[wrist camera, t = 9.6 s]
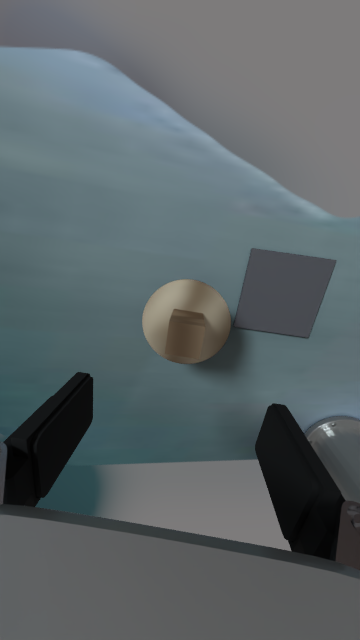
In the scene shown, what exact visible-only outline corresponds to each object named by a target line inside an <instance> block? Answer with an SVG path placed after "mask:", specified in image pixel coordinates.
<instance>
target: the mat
mask: <svg viewBox="0 0 360 640" xmlns="http://www.w3.org/2000/svg"><path fill="white" fill-rule="evenodd" d="M335 263H336V260H331V259H324V258H317V257H310V256H303V255H296V254H289V253H282V252H275V251H268V250H261V249H254V248H252V249H251V253H250V257H249V262H248V266H247V270H246V275H245V279H244V283H243V287H242V292H241V296H240V300H239V305H238V309H237V313H236V317H235V322H234V327H239V328H246V329H253V330H259V331H266V332H273V333H280V334H286V335H293V336H300V337H307V338H308V337H309V334H310V332H311V329H312V326H313V323H314V321H315V318H316V315H317V312H318V310H319V307H320V304H321V301H322V299H323V296H324V293H325V290H326V288H327V285H328V282H329V280H330V277H331V274H332V271H333V269H334V266H335Z"/></svg>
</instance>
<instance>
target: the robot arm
mask: <svg viewBox="0 0 360 640" xmlns="http://www.w3.org/2000/svg"><path fill="white" fill-rule="evenodd" d="M92 419H93V377H90V374H88V373H82V372H78V373H76V374H75V375H74V376H73V377H72V378H71V379H70V380H69V381H68V382H67V383H66V384H65V385H64V386H63V387H62V388H61V389H60V390H59V391H58V392H57V393H56V394H55V395H54V396H51V397H50V398H49V399H48V400H47V401H46V402H45V403H44V404H43V405H42V406H40V407H39V408H38V409H37V410H36V411H35V412H34V413H33V414H32V415H31V416H30V417H29V418H28V419H27V420H26V421H25V422H24V423H23V424H22V425H21V426H20V427H19V428H18V429H17V430H16V431H14V432H13V433H12V434H11V435H10V436H9V437H8V438H7V439H6V440H5V441H4V442H0V640H360V420H359V419H356V418H353V417H348V416H336V417H330V418H326V419H323V420H321V421H319V422H317V423H316V424H314V425H313V426H312V427H310V428H309V429H308V430H307V432H306V433H305V434H304V433H303V432H302V430H301V428H300V427H299V425H298V424H297V422H296V421H295V419H294V418H293V416H292V414H291V413H290V411H289V410H288V408H287V407H286V406H285V405H281V404H272V405H271V406H269V407H268V409H267V412H266V415H265V418H264V421H263V424H262V427H261V430H260V432H259V435H258V438H257V441H256V445H255V451H256V454H257V457H258V460H259V464H260V466H261V470H262V473H263V476H264V479H265V482H266V485H267V488H268V491H269V494H270V497H271V500H272V503H273V506H274V509H275V512H276V515H277V518H278V522H279V524H280V528H281V531H282V534H283V536H284V538H285V539H286V540H288V542H289V544H290V547H291V550H292V552H291V551H287V550H281V549H276V548H272V547H266V546H260V545H255V544H250V543H244V542H238V541H233V540H227V539H221V538H216V537H211V536H205V535H199V534H194V533H188V532H182V531H176V530H171V529H165V528H160V527H153V526H148V525H142V524H136V523H130V522H125V521H119V520H113V519H107V518H101V517H95V516H89V515H83V514H77V513H71V512H65V511H58V510H51V509H44V508H37V507H35V506H36V504H37V503H38V501H39V500H40V498H41V497H42V498H44V497H45V496H46V495H47V494H48V492H49V490H50V489H51V487H52V485H53V484H54V482H55V481H56V479H57V478H58V476H59V474H60V473H61V471H62V470H63V468H64V466H65V465H66V463H67V462H68V460H69V458H70V457H71V455H72V454H73V452H74V450H75V449H76V447H77V445H78V444H79V442H80V441H81V439H82V437H83V436H84V434H85V433H86V431H87V429H88V428H89V426H90V424H91V422H92Z"/></svg>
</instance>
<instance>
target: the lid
mask: <svg viewBox="0 0 360 640" xmlns="http://www.w3.org/2000/svg"><path fill="white" fill-rule="evenodd" d="M142 324H143V331H144V334H145V337H146V339H147V341H148V343H149V344H150V346H151V347H152V348H153V349H154V350H155V352H157V353H158V354H159V355H160V356H162V357H164V358H165V359H167V360H170V361H172V362H176V363H181V364H193V363H198V362H202V361H204V360H207V359H209V358H210V357H212V356H213V355H215V354H216V353H217V352H218V351H219V350H220V349H221V348H222V347H223V345H224V344H225V342H226V340H227V338H228V336H229V332H230V327H231V318H230V312H229V309H228V306H227V304H226V302H225V301H224V299H223V298H222V297H221V295H220V294H219V293H218V292H217V291H216V290H215V289H214V288H212V287H211V286H209V285H207V284H205V283H203V282H200V281H197V280H191V279H181V280H176V281H173V282H170V283H167V284H165V285H164V286H162V287H161V288H159V289H158V290H157V291H156V292H155V293H154V294H153V295H152V296H151V297H150V299H149V300H148V302H147V304H146V306H145V309H144V312H143V318H142Z"/></svg>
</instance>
